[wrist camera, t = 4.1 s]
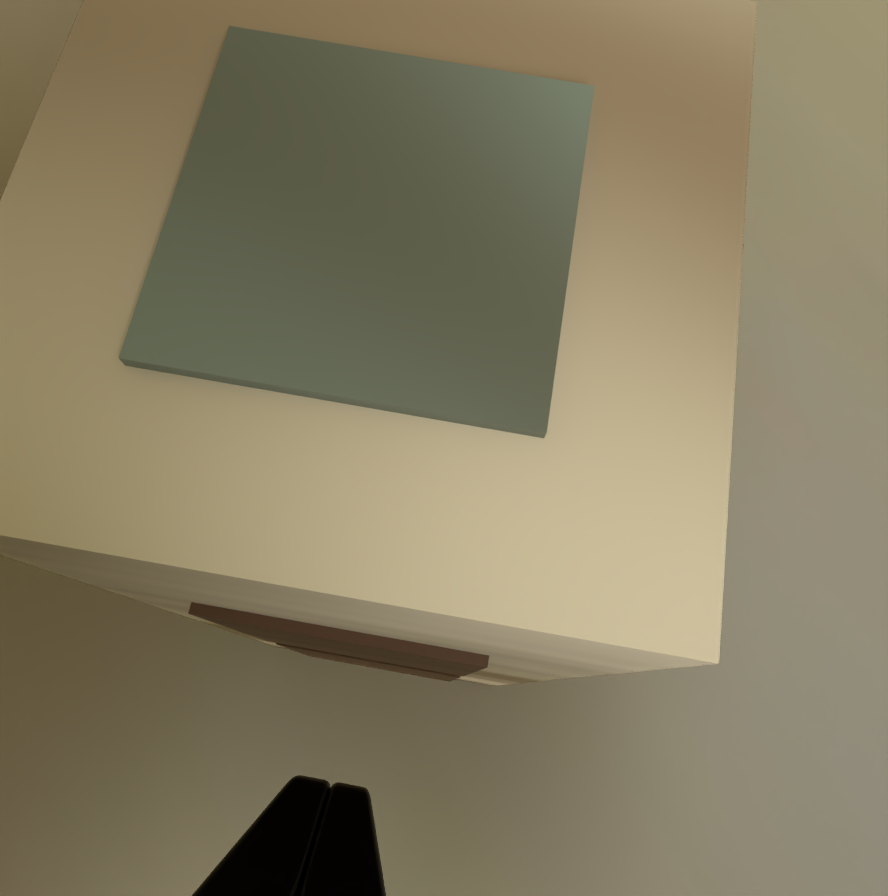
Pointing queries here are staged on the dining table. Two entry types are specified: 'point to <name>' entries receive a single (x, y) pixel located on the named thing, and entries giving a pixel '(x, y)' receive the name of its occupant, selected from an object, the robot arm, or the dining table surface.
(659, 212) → the cream two-panel pillar
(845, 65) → the dining table surface
